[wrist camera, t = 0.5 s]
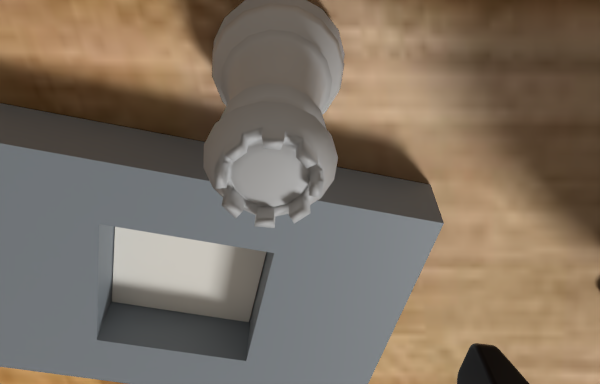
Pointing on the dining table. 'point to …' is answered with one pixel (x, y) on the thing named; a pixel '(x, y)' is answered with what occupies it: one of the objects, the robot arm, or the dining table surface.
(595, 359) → the dining table surface
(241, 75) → the rook chess piece
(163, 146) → the socket board
